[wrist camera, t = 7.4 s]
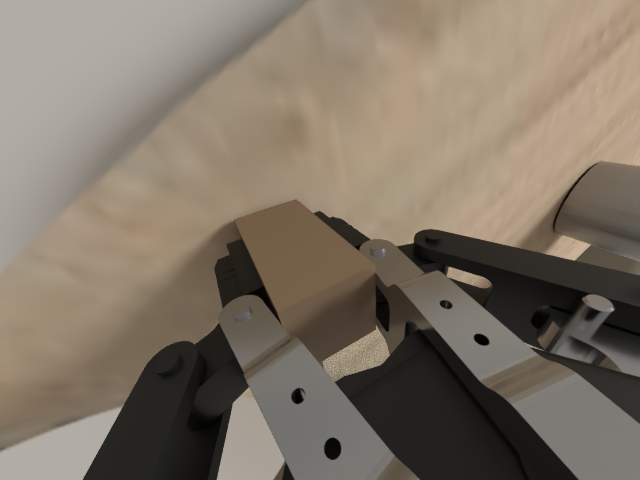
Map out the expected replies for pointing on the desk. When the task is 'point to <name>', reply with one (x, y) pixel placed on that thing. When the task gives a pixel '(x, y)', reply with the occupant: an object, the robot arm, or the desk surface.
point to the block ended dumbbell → (311, 277)
